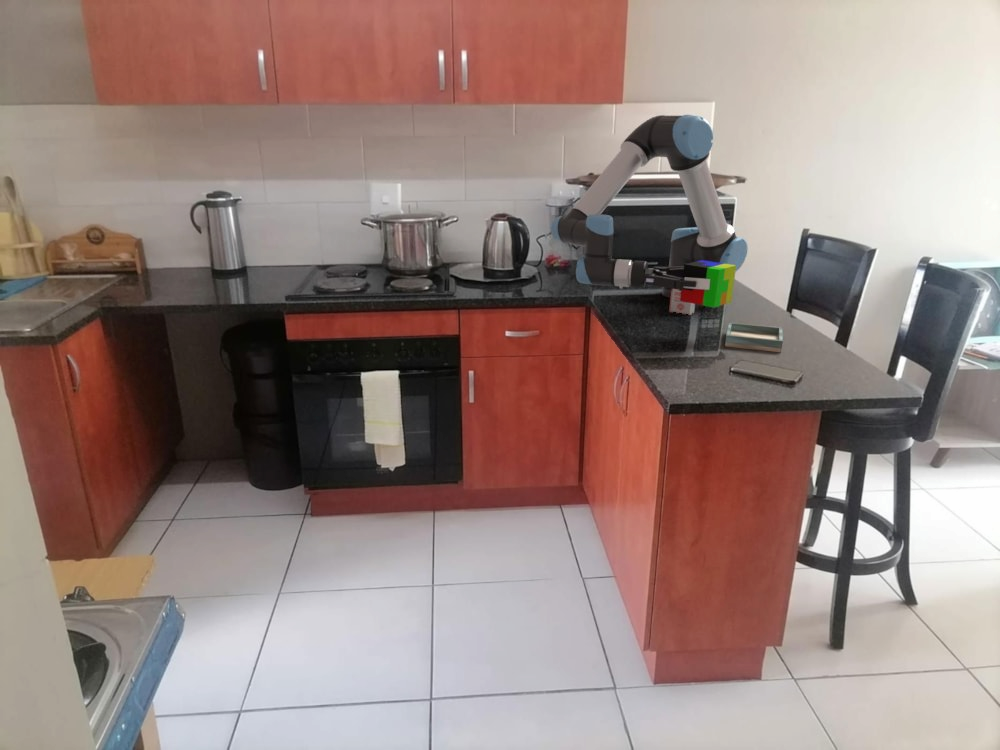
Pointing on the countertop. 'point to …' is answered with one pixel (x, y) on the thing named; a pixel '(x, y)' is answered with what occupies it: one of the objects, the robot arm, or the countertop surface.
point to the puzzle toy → (719, 283)
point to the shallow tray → (754, 337)
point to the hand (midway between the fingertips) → (711, 279)
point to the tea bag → (680, 304)
